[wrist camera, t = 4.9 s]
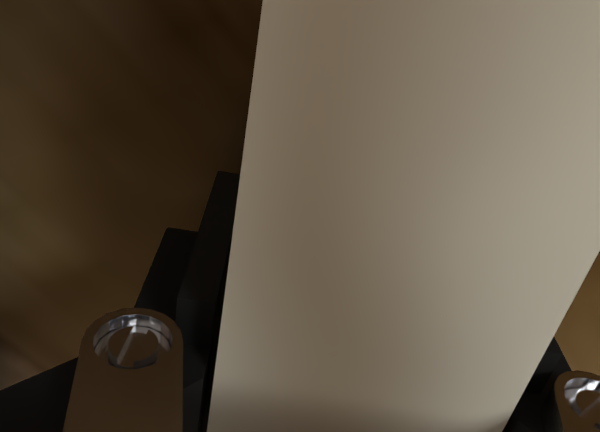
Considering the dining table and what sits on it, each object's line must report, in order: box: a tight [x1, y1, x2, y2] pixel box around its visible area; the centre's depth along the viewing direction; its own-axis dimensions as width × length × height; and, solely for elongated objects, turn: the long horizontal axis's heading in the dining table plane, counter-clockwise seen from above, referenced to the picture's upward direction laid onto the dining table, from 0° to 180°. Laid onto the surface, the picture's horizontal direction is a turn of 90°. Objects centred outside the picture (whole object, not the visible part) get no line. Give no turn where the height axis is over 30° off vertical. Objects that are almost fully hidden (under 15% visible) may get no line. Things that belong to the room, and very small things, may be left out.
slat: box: [207, 0, 600, 432], centre depth 10 cm, size 4×22×5 cm, turn 170°
